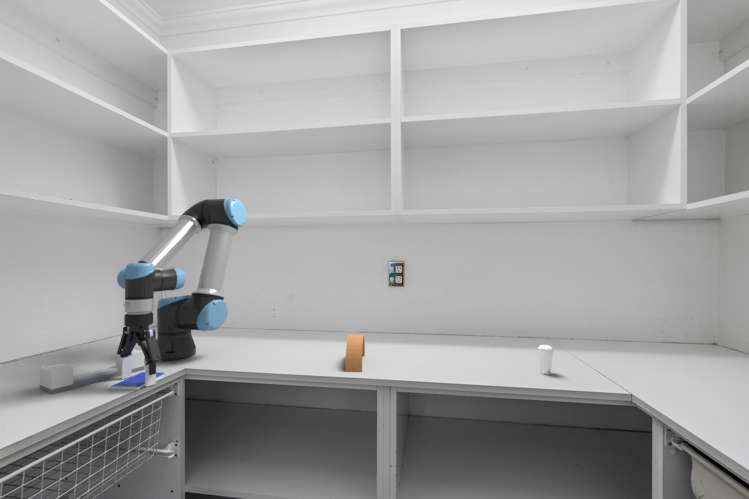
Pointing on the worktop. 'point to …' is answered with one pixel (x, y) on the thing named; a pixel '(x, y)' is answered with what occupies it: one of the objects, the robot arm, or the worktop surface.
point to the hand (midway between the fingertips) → (138, 381)
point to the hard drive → (134, 381)
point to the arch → (354, 353)
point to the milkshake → (545, 358)
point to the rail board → (63, 379)
